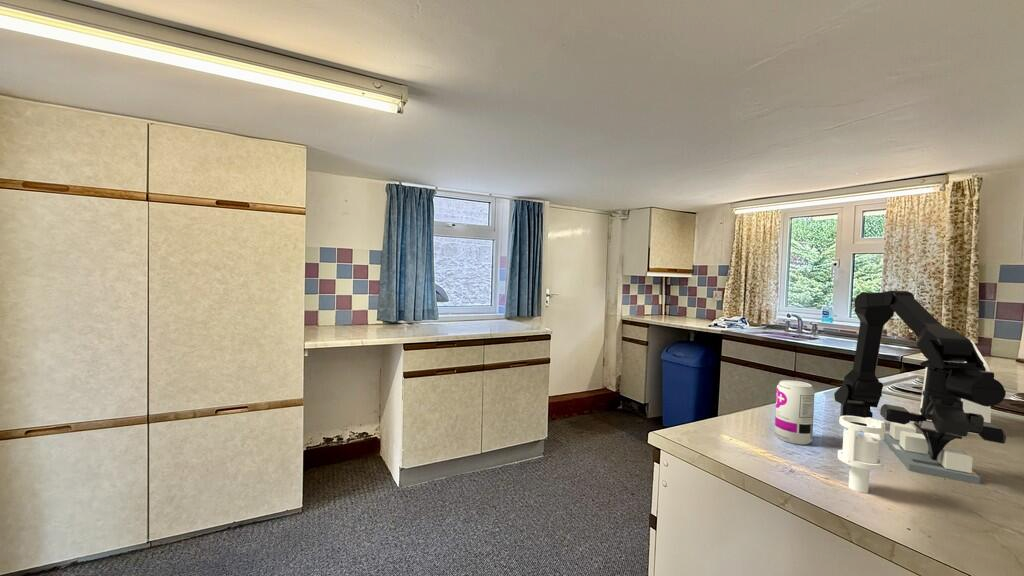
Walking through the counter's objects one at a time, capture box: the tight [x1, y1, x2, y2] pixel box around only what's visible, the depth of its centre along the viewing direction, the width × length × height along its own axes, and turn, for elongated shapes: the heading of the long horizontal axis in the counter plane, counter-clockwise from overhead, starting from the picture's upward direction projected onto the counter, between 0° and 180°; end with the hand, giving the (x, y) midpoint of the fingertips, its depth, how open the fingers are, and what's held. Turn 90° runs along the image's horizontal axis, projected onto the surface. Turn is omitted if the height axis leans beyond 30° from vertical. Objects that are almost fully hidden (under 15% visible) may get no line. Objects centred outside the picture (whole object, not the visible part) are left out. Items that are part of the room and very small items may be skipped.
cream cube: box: [889, 422, 917, 440], centre depth 106 cm, size 4×4×4 cm
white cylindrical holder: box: [837, 416, 886, 494], centre depth 82 cm, size 7×7×15 cm
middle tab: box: [899, 431, 928, 454], centre depth 99 cm, size 4×4×4 cm
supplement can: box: [774, 379, 816, 446], centre depth 108 cm, size 8×8×15 cm
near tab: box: [938, 446, 974, 473], centre depth 90 cm, size 4×4×4 cm
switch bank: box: [882, 432, 981, 485], centre depth 98 cm, size 11×22×2 cm, turn 150°
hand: (933, 459), depth 92 cm, fingers closed
